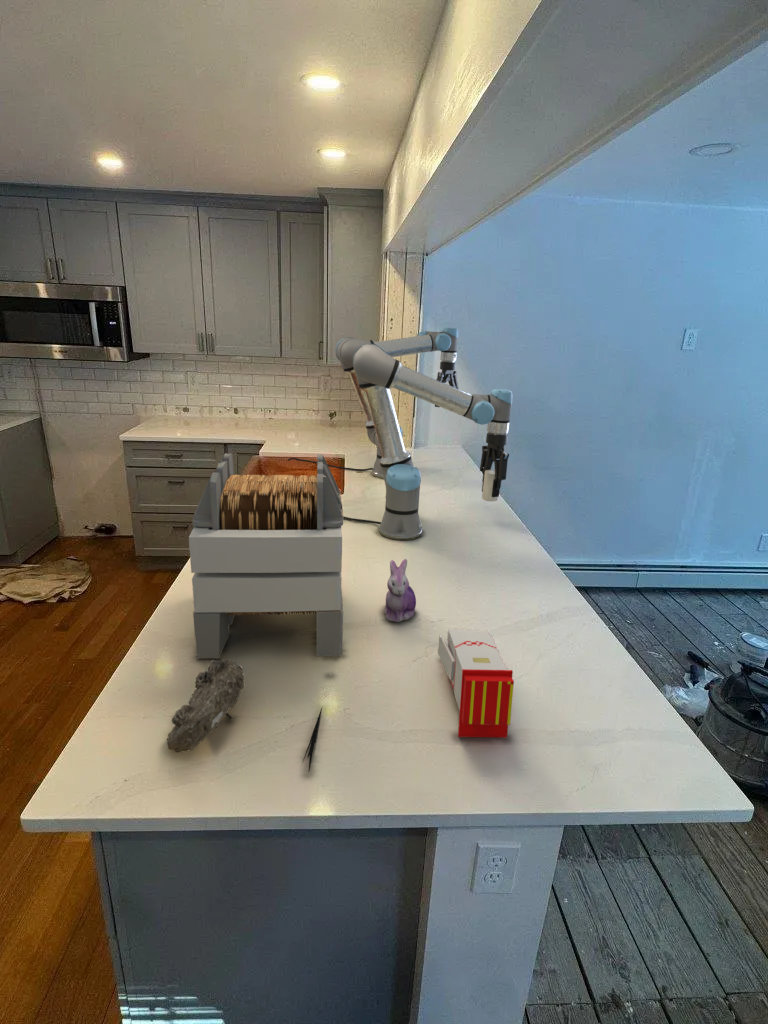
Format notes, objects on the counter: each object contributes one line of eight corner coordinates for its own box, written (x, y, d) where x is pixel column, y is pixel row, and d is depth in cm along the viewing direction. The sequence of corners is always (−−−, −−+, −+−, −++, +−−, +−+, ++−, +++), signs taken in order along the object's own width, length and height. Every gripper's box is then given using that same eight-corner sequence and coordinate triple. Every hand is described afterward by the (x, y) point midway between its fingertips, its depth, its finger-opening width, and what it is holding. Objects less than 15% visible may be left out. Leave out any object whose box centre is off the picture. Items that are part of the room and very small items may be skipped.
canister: (479, 499, 212) (483, 472, 208) (484, 495, 217) (487, 468, 213) (494, 502, 210) (498, 474, 206) (499, 498, 214) (502, 471, 211)
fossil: (192, 660, 117) (244, 628, 112) (224, 691, 120) (276, 661, 115) (142, 746, 98) (202, 712, 93) (182, 779, 101) (242, 748, 96)
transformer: (219, 588, 156) (210, 443, 142) (338, 587, 160) (340, 446, 146) (193, 661, 124) (179, 483, 110) (343, 657, 128) (346, 485, 114)
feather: (331, 679, 122) (336, 673, 122) (307, 777, 96) (313, 769, 95) (324, 675, 122) (329, 669, 121) (298, 772, 95) (304, 764, 95)
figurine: (392, 627, 141) (395, 572, 136) (374, 608, 149) (376, 556, 144) (425, 619, 145) (429, 566, 140) (405, 601, 154) (408, 550, 149)
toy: (488, 613, 130) (523, 677, 101) (484, 667, 133) (517, 744, 104) (435, 612, 130) (455, 676, 101) (432, 666, 133) (451, 743, 103)
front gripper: (522, 438, 198) (513, 500, 206) (491, 427, 214) (484, 485, 222) (504, 439, 195) (496, 502, 203) (474, 428, 211) (467, 487, 219)
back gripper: (441, 363, 262) (437, 409, 269) (467, 360, 281) (463, 403, 288) (427, 361, 266) (424, 407, 273) (454, 359, 285) (451, 402, 292)
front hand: (490, 493), depth 212 cm, fingers closed on canister, 6 cm apart
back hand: (444, 405), depth 281 cm, fingers open, 13 cm apart
